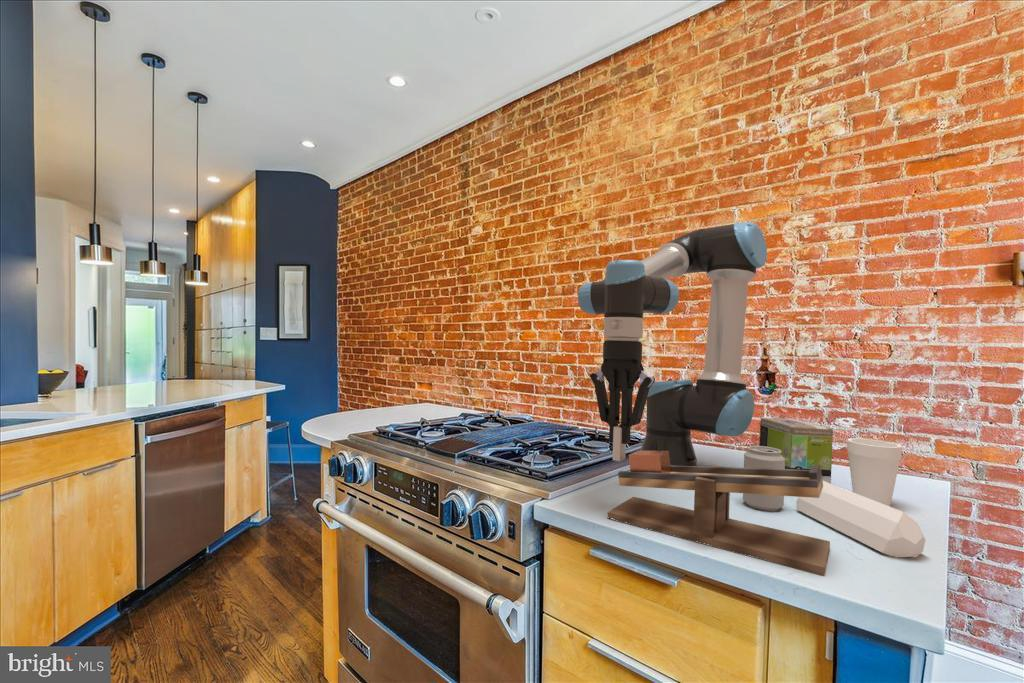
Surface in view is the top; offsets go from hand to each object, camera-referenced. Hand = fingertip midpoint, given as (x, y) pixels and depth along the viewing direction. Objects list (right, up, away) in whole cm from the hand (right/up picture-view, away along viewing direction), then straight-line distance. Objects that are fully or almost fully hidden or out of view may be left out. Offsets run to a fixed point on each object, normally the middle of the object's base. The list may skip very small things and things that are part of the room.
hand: (619, 459), depth 95 cm
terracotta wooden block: (+5, -2, -4) cm, 7 cm away
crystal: (+41, -12, -8) cm, 43 cm away
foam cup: (+56, -12, +9) cm, 58 cm away
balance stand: (+14, -10, -11) cm, 20 cm away
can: (+31, -11, +5) cm, 33 cm away
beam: (+14, -1, -11) cm, 18 cm away
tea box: (+48, -12, +24) cm, 55 cm away
